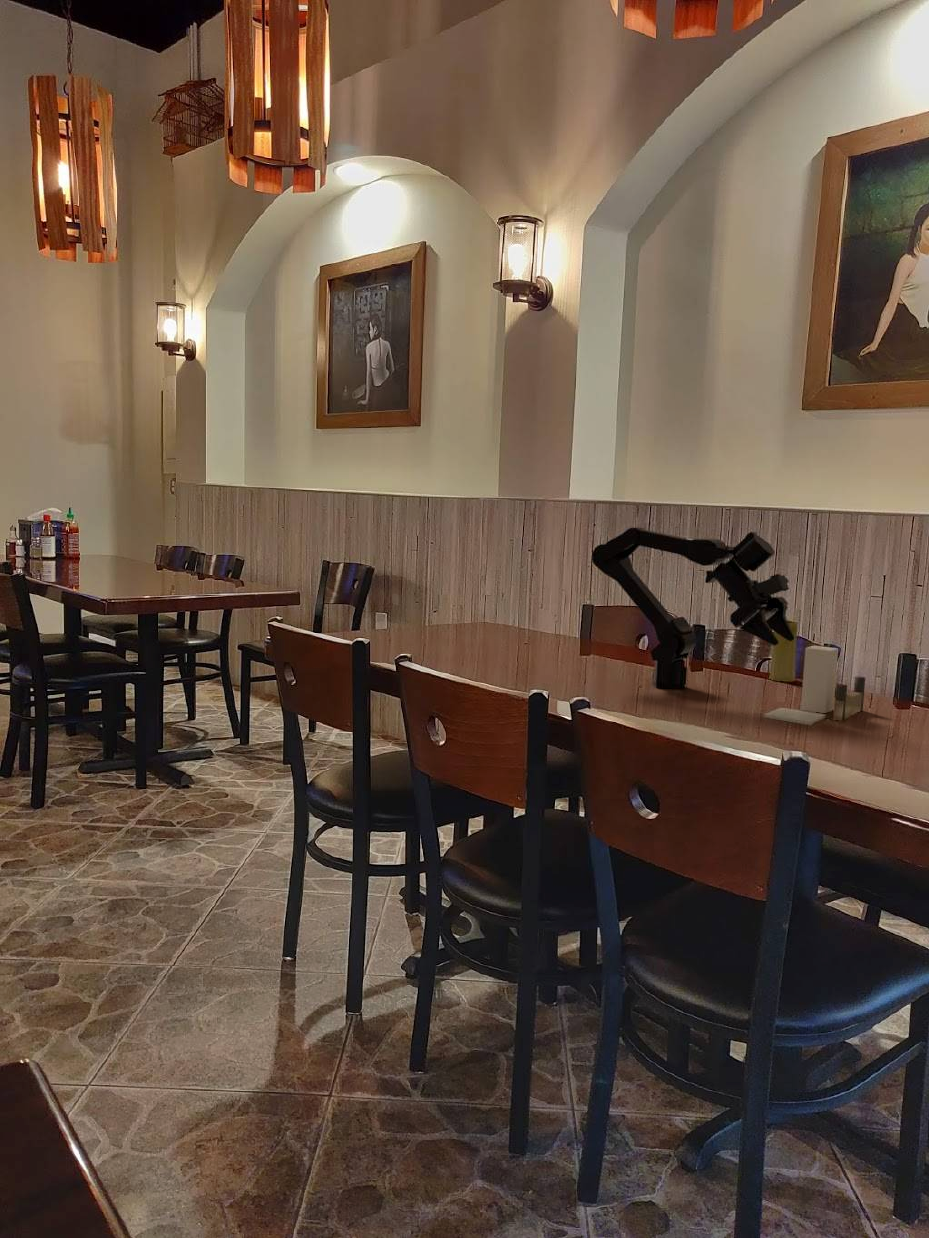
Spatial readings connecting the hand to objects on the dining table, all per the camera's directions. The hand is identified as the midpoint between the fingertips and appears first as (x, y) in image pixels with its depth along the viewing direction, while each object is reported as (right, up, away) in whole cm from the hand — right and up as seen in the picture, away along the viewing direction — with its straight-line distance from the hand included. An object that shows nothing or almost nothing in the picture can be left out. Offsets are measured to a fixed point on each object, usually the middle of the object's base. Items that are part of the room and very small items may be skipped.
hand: (785, 642), depth 196 cm
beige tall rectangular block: (+6, -14, -3) cm, 15 cm away
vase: (+10, -10, +31) cm, 34 cm away
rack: (+10, -15, -7) cm, 19 cm away
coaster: (-2, -15, -11) cm, 18 cm away
